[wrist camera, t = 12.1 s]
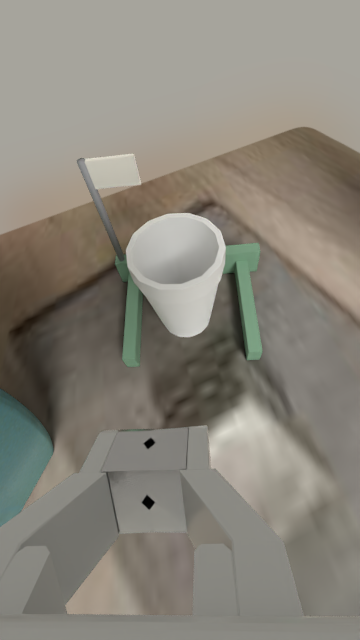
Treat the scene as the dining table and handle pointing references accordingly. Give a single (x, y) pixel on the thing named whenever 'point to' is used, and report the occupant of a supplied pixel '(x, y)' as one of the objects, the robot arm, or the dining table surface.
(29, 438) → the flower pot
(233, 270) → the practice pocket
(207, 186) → the dining table surface
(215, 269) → the foam cup
